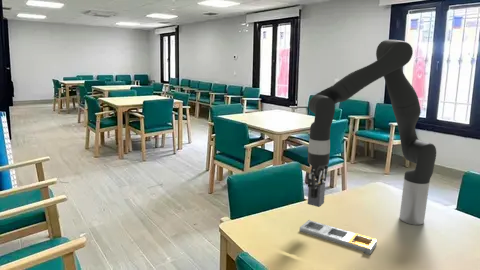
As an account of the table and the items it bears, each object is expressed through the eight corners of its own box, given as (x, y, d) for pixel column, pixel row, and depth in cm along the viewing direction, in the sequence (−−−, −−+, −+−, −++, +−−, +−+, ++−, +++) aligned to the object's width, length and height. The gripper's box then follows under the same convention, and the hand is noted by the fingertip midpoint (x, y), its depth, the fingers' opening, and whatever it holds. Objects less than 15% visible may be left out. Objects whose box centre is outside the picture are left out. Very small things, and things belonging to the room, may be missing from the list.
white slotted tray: (308, 224, 143) (308, 219, 142) (376, 245, 128) (377, 239, 128) (299, 232, 136) (299, 227, 136) (369, 254, 122) (370, 248, 121)
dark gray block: (312, 200, 138) (313, 178, 136) (323, 203, 135) (325, 181, 134) (307, 204, 134) (308, 182, 132) (319, 207, 132) (320, 184, 130)
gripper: (320, 157, 123) (318, 204, 126) (336, 148, 134) (333, 192, 138) (300, 153, 127) (298, 199, 131) (317, 145, 138) (314, 187, 142)
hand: (316, 195), depth 134 cm, fingers closed on dark gray block, 4 cm apart
